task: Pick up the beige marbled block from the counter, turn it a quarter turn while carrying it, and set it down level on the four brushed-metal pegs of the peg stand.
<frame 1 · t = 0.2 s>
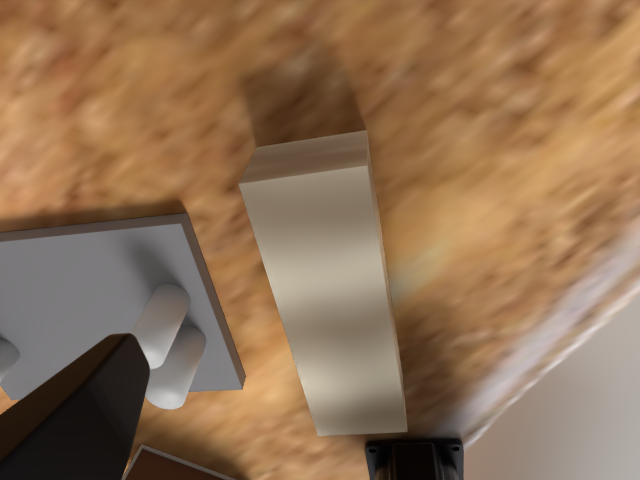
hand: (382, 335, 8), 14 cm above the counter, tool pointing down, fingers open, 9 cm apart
peg stand: (90, 314, 28), on the counter
beige marbled block: (341, 276, 26), on the counter
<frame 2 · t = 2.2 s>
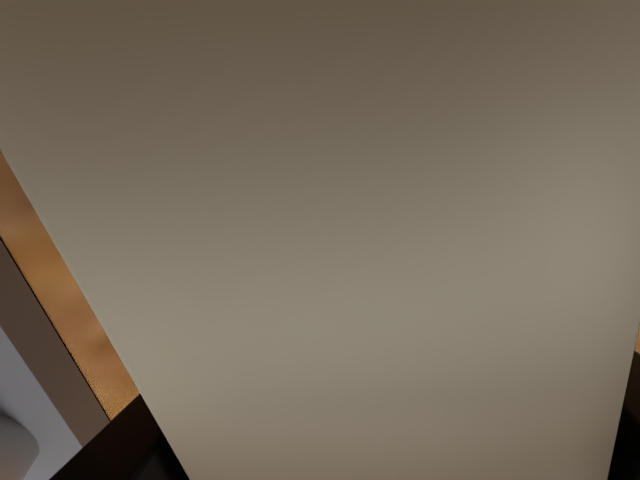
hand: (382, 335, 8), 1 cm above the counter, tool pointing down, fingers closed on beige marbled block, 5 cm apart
beige marbled block: (380, 289, 9), on the counter, touching gripper
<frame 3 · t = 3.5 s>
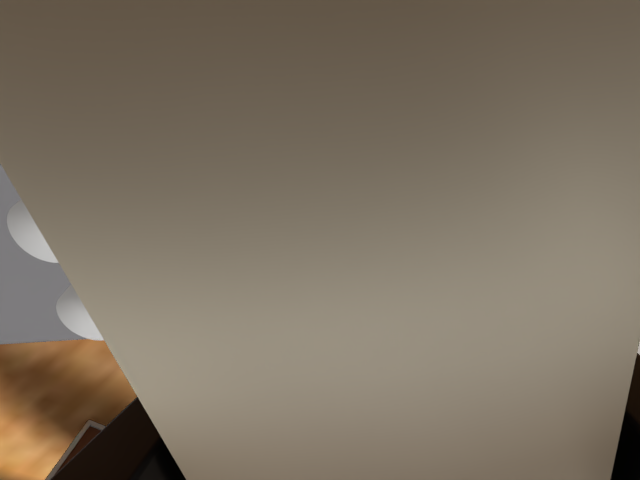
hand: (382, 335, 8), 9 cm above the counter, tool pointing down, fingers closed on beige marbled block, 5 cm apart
beige marbled block: (380, 290, 9), point 8 cm above the counter, touching gripper
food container: (152, 473, 28), on the counter
when the fingers open (7 cm above the counter, at t = 6.5 s): beige marbled block stays where it is, resting on peg stand.
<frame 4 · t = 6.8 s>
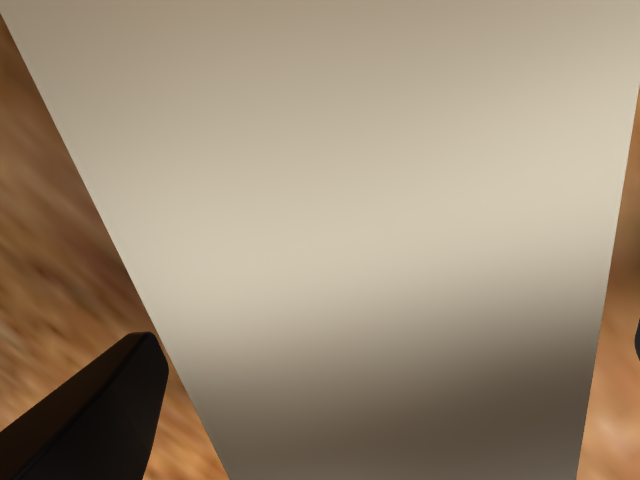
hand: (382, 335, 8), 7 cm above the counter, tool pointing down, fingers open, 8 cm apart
beige marbled block: (379, 265, 10), point 5 cm above the counter, touching peg stand
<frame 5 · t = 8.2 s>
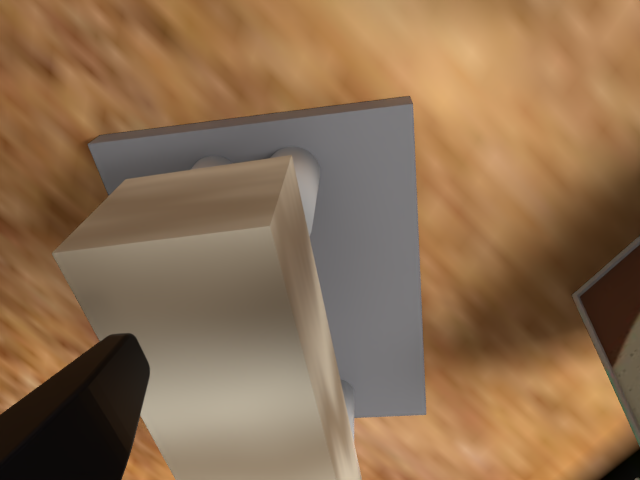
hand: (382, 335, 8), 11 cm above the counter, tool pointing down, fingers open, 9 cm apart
peg stand: (286, 287, 22), on the counter
beige marbled block: (269, 366, 18), point 5 cm above the counter, touching peg stand
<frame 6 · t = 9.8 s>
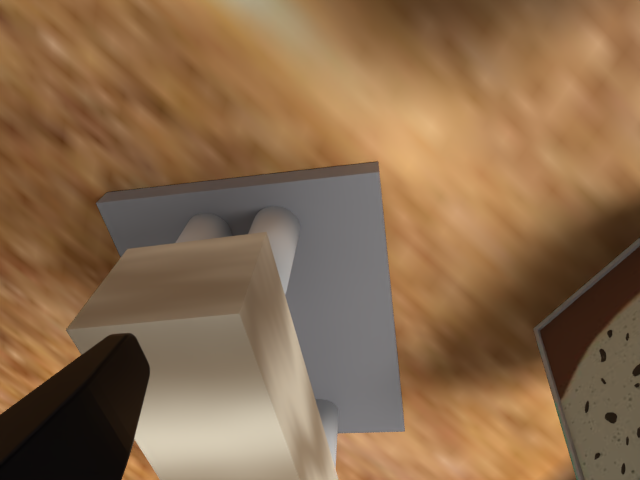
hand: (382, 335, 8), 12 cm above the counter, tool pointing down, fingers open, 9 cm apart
peg stand: (275, 319, 24), on the counter
beige marbled block: (256, 398, 20), point 5 cm above the counter, touching peg stand
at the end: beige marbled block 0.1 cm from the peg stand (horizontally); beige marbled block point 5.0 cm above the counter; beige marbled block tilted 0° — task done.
